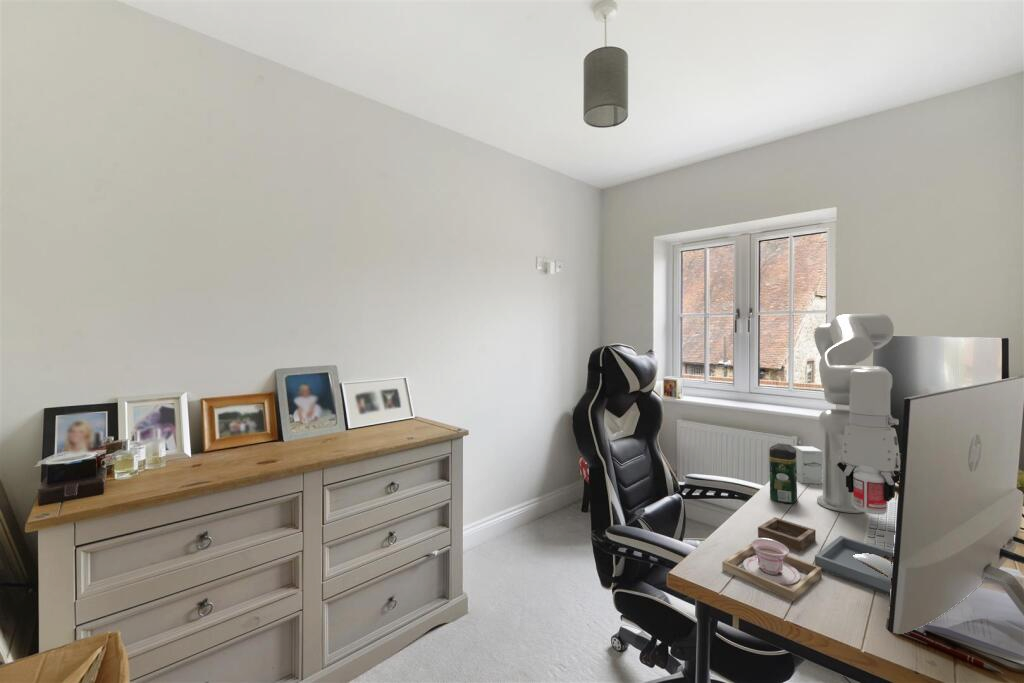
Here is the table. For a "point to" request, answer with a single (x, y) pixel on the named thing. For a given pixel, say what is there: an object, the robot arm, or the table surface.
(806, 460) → the supplement box
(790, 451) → the coffee jar
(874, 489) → the pill bottle
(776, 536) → the walnut collar
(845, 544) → the slate tray
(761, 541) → the teacup
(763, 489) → the table surface
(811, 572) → the light wooden frame
